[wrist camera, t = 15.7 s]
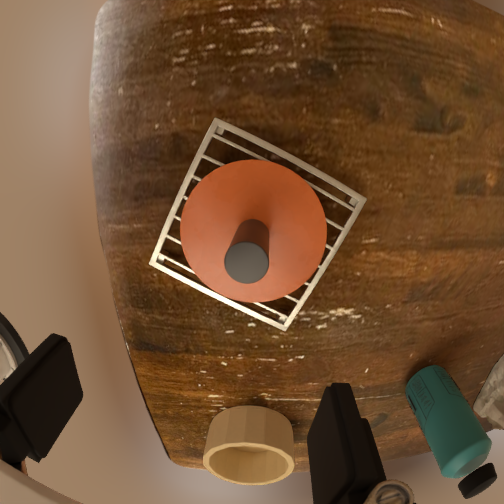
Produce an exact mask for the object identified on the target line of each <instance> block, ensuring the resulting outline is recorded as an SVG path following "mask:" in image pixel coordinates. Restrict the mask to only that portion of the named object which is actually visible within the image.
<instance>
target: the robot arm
mask: <svg viewBox="0 0 504 504" xmlns="http://www.w3.org/2000/svg"><path fill="white" fill-rule="evenodd" d="M4 377H5V378H7V379H6V380H5V381H4V382H3V383H2V384H1V385H0V504H82V503H80V502H77V501H75V500H73V499H71V498H69V497H66V496H64V495H62V494H60V493H58V492H56V491H54V490H52V489H50V488H48V487H47V486H45V485H43V484H41V483H39V482H37V481H35V480H34V479H32V478H30V477H29V476H28V473H27V468H26V464H25V458H26V456H28V457H29V458H31V459H33V460H34V461H36V462H38V463H39V462H40V460H41V459H42V458H45V457H46V456H47V454H48V452H49V451H50V449H51V448H52V446H53V444H54V443H55V441H56V440H57V438H58V436H59V435H60V433H61V432H62V430H63V428H64V427H65V425H66V424H67V422H68V421H69V419H70V418H71V416H72V415H73V413H74V411H75V410H76V408H77V407H78V405H79V404H80V402H81V401H82V398H83V391H82V388H81V384H80V381H79V377H78V374H77V369H76V365H75V361H74V357H73V353H72V349H71V345H70V343H69V342H68V340H67V338H66V337H63V336H60V335H57V334H54V333H53V334H51V335H50V336H49V337H48V338H47V339H45V341H43V342H42V343H41V344H40V345H39V346H38V347H37V348H36V349H35V350H34V351H33V352H32V353H31V354H30V355H29V356H28V357H27V358H26V359H25V360H24V361H23V362H22V363H21V364H20V365H19V366H18V365H17V361H16V358H15V356H14V354H13V352H12V350H11V348H10V346H9V345H8V343H7V342H6V340H5V339H4V338H3V336H2V335H1V334H0V381H1V380H2V379H3V378H4ZM307 446H308V455H309V464H310V473H311V482H312V492H313V501H314V502H313V503H314V504H416V503H414V494H413V492H412V489H411V488H410V487H409V486H408V485H407V484H405V483H404V482H401V481H398V480H387V479H386V476H385V473H384V469H383V466H382V463H381V459H380V456H379V453H378V450H377V446H376V443H375V440H374V437H373V434H372V431H371V428H370V425H369V422H368V420H367V419H366V418H361V417H360V414H359V411H358V408H357V404H356V401H355V398H354V395H353V392H352V389H351V386H350V384H349V383H332V385H331V387H326V389H325V391H324V394H323V397H322V399H321V402H320V405H319V407H318V410H317V412H316V415H315V418H314V420H313V423H312V425H311V427H310V430H309V432H308V436H307Z"/></svg>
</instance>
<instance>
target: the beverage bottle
mask: <svg viewBox="0 0 504 504" xmlns="http://www.w3.org/2000/svg"><path fill="white" fill-rule="evenodd" d="M449 375H450V374H449ZM449 375H448V373H447V372H446V371H445V369H444V368H443V367H440V366H438V365H432V366H428V367H425V368H423V369H421V370H420V371H418V372H417V373H416V374H415V375H414V376H413V377H412V378H411V379H410V380H409V382H408V383H407V386H406V390H405V391H406V393H405V394H406V399H408V401H409V403H410V405H411V406H410V405H409V406H410V407H411V409H413V411H414V412H413V413H414V415H415V416H416V418H417V420H418V422H419V424H420V425H419V424H418V425H419V427H420V426H421V427H420V429H421V431H423V433H424V434H423V433H422V434H423V436H425V437H426V439H427V441H428V444H429V446H430V447H431V449H432V452H433V454H434V456H435V458H436V461H437V463H438V465H439V468H440V470H441V474H442V475H443V476H444V477H447V478H460V477H463V476H465V475H467V474H469V473H470V474H469V475H468V476H466V477H465V478H464V479H463V480H462V481H461V482H460V483H459V484H458V488H459V490H460V491H461V493H462V495H463V497H464V498H465V499H468V498H471V497H473V496H475V495H477V494H479V493H481V492H482V491H484V490H485V489H486V488H488V487H489V486H490V485H491V484H492V483H493V482H494V481H495V480H496V479H497V474H496V472H495V469H494V465H493V464H492V463H488V464H485V465H483V466H482V467H479V466H480V465H481V464H482V463H483V462H484V461H485V460H486V458H487V456H488V454H489V451H490V449H491V444H492V442H491V440H490V438H489V437H488V436H487V434H486V432H485V431H484V429H483V427H482V426H481V424H480V422H479V421H478V419H477V418H476V416H475V414H474V413H473V411H472V409H471V408H470V406H469V404H468V403H467V401H466V400H465V398H464V397H465V396H464V397H463V395H462V394H461V392H460V391H459V390H460V389H458V388H459V387H458V386H456V385H455V384H456V383H455V382H453V381H454V380H453V379H451V378H452V377H451V378H450V376H449ZM452 380H453V381H452ZM457 387H458V388H457ZM417 420H416V421H417ZM428 444H427V445H428ZM478 467H479V468H478ZM476 468H478V469H476ZM475 469H476V470H475ZM474 470H475V471H474ZM472 471H473V472H472ZM471 472H472V473H471Z"/></svg>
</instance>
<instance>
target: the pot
mask: <svg viewBox="0 0 504 504" xmlns="http://www.w3.org/2000/svg"><path fill="white" fill-rule="evenodd" d="M203 465H204V466H205V467H206V468H207V470H208V471H209V472H210V473H211V474H213V475H215V476H216V477H218V478H220V479H222V480H225V481H228V482H232V483H235V484H243V485H263V484H270V483H273V482H277V481H280V480H282V479H283V478H285V477H287V476H288V475H289V474H291V472H292V470H293V468H294V466H295V457H294V437H293V430H292V425H291V423H290V421H289V420H288V419H287V418H286V417H285V416H284V415H282V414H281V413H279V412H277V411H275V410H272V409H269V408H266V407H261V406H252V405H245V406H236V407H232V408H228V409H226V410H223V411H221V412H220V413H218V414H217V415H216V416H215V417H214V418H213V420H212V422H211V424H210V428H209V433H208V437H207V442H206V446H205V451H204V456H203Z"/></svg>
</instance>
